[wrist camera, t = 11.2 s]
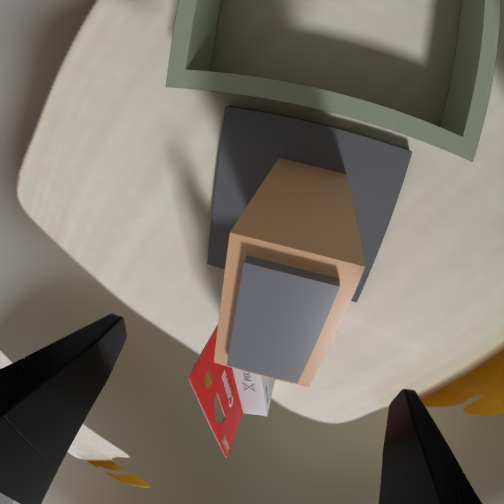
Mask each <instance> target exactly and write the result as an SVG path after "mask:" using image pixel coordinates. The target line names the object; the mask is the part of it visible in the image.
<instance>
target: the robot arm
mask: <svg viewBox="0 0 504 504" xmlns="http://www.w3.org/2000/svg"><path fill="white" fill-rule="evenodd" d="M126 337H127V333H126V327H125V322H124V318H123V317H122V316H119V315H117V314H114V313H112V314H109V315H107V316H105V317H103V318H101V319H99V320H97V321H95V322H93V323H91V324H89V325H87V326H85V327H83V328H81V329H79V330H77V331H75V332H73V333H71V334H69V335H67V336H66V337H63V338H61V339H60V340H58V341H56V342H54V343H52V344H50V345H48V346H46V347H44V348H42V349H40V350H38V351H36V352H34V353H32V354H30V355H28V356H27V357H25V359H24V358H23V359H20V360H18V361H17V362H15V363H12V364H10V365H8V366H6V367H4V368H2V369H0V504H12V503H13V501H16V502H18V503H20V504H41V503H42V501H43V499H44V497H45V495H46V493H47V491H48V489H49V487H50V485H51V482H52V481H53V479H54V476H55V475H56V473H57V471H58V468H59V466H60V465H61V463H62V461H63V459H64V457H65V455H66V453H67V451H68V449H69V447H70V446H71V444H72V442H73V440H74V438H75V436H76V435H77V433H78V431H79V429H80V427H81V425H82V424H83V422H84V420H85V418H86V416H87V415H88V413H89V411H90V409H91V407H92V406H93V404H94V402H95V401H96V399H97V397H98V395H99V394H100V392H101V390H102V388H103V387H104V385H105V383H106V382H107V380H108V378H109V376H110V374H111V372H112V370H113V367H114V365H115V363H116V360H117V358H118V356H119V354H120V352H121V350H122V347H123V345H124V343H125V341H126ZM379 504H482V502H481V501H480V499H479V498H478V496H477V495H476V493H475V492H474V490H473V488H472V486H471V485H470V483H469V481H468V480H467V478H466V476H465V474H464V473H463V471H462V469H461V467H460V465H459V463H458V462H457V460H456V458H455V456H454V454H453V453H452V451H451V449H450V447H449V446H448V444H447V442H446V441H445V439H444V437H443V435H442V434H441V432H440V430H439V429H438V427H437V425H436V424H435V422H434V421H433V419H432V417H431V416H430V414H429V413H428V411H427V409H426V407H425V406H424V404H423V403H422V401H421V399H420V398H419V396H418V395H417V393H416V392H415V391H414V390H410V389H403V390H401V391H400V393H399V394H398V395H397V396H396V397H395V398H394V400H393V401H392V402H391V404H390V406H389V411H388V419H387V427H386V433H385V440H384V448H383V460H382V474H381V486H380V496H379Z"/></svg>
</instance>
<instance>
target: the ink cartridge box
mask: <svg viewBox="0 0 504 504" xmlns="http://www.w3.org/2000/svg"><path fill="white" fill-rule="evenodd" d="M217 330H218V325H217V326H216V328H215V330H214V332H213V333H212V335H211V337H210V339H209V340H208V342H207V344H206V345H205V347H204V349H203V351H202V352H201V354H200V356H199V358H198V359H197V361H196V363H195V365H194V366H193V368H192V370H191V371H190V373H189V375H188V379H189V381H190V384H191V386H192V388H193V390H194V393H195V395H196V397H197V399H198V402H199V404H200V406H201V408H202V410H203V412H204V415H205V417H206V419H207V421H208V423H209V425H210V428H211V430H212V431H213V434H214V436H215V437H216V439H217V441H218V443H219V446H220V447H221V449H222V451H223V453H224V455H225V457H226V458H227V457H228V455H229V452H230V450H231V447H232V444H233V441H234V438H235V435H236V432H237V429H238V426H239V423H240V420H241V417H242V414H243V413H247V414H255V415H263V416H267V415H268V410H269V405H270V401H271V396H272V391H273V386H274V381H275V379H272V378H268V377H264V376H260V375H256V374H253V373H249V372H245V371H242V370H238V369H234V368H231V367H228V366H224V365H221V364H217V363H214V356H215V347H216V339H217ZM216 394H217V397H218V399H219V402H220V405H221V408H222V410H223V414H224V418H223V421H222V422H221V423H220V422H217V421H216V420H215V405H214V398H215V395H216Z"/></svg>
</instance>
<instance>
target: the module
mask: <svg viewBox="0 0 504 504" xmlns="http://www.w3.org/2000/svg"><path fill="white" fill-rule="evenodd" d="M364 269H365V262H364V256H363V251H362V245H361V240H360V234H359V229H358V224H357V219H356V215H355V210H354V205H353V201H352V196H351V192H350V188H349V183H348V179H347V175H346V174H343V173H339V172H335V171H331V170H328V169H324V168H320V167H316V166H312V165H308V164H304V163H299V162H295V161H291V160H286V159H282V158H279V159H278V160H277V162H276V163H275V165H274V166H273V168H272V169H271V171H270V172H269V174H268V175H267V177H266V178H265V180H264V181H263V183H262V184H261V186H260V187H259V189H258V190H257V192H256V193H255V195H254V196H253V198H252V199H251V201H250V202H249V204H248V206H247V207H246V209H245V210H244V212H243V213H242V215H241V216H240V218H239V219H238V221H237V222H236V224H235V226H234V227H233V229H232V230H231V232H230V236H229V243H228V251H227V258H226V266H225V273H224V281H223V289H222V297H221V305H220V313H219V322H218V330H217V339H216V347H215V356H214V363H217V364H221V365H224V366H228V367H231V368H234V369H238V370H242V371H245V372H249V373H253V374H256V375H260V376H264V377H268V378H272V379H276V380H280V381H285V382H289V383H293V384H298V385H302V386H307V387H309V386H310V384H311V382H312V380H313V379H314V377H315V375H316V373H317V371H318V369H319V367H320V365H321V363H322V361H323V359H324V357H325V355H326V353H327V351H328V349H329V347H330V345H331V343H332V341H333V339H334V337H335V335H336V333H337V331H338V328H339V326H340V324H341V322H342V320H343V318H344V315H345V313H346V311H347V309H348V307H349V304H350V302H351V300H352V297H353V295H354V293H355V291H356V288H357V286H358V283H359V281H360V279H361V276H362V274H363V271H364Z"/></svg>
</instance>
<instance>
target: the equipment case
mask: <svg viewBox="0 0 504 504" xmlns="http://www.w3.org/2000/svg"><path fill="white" fill-rule="evenodd" d="M221 3H222V0H179V3H178V9H177V14H176V20H175V25H174V31H173V37H172V44H171V50H170V57H169V65H168V72H167V80H166V87H172V88H186V89H197V90H207V91H216V92H225V93H232V94H240V95H246V96H253V97H259V98H265V99H271V100H276V101H281V102H286V103H291V104H296V105H301V106H306V107H310V108H314V109H319V110H323V111H327V112H331V113H335V114H339V115H342V116H346V117H350V118H353V119H357V120H360V121H364V122H367V123H371V124H374V125H377V126H380V127H383V128H386V129H389V130H392V131H395V132H398V133H401V134H404V135H407V136H410V137H413V138H415V139H418V140H421V141H423V142H426V143H429V144H431V145H434V146H436V147H439V148H441V149H444V150H446V151H448V152H451V153H453V154H456V155H458V156H460V157H462V158H465V159H467V160H469V161H471V162H473V159H474V156H475V153H476V149H477V146H478V143H479V139H480V135H481V131H482V128H483V124H484V120H485V115H486V111H487V107H488V102H489V97H490V92H491V87H492V81H493V75H494V69H495V62H496V55H497V47H498V37H499V25H500V4H501V0H461V11H460V22H459V30H458V38H457V45H456V52H455V58H454V64H453V70H452V75H451V80H450V85H449V90H448V95H447V99H446V104H445V108H444V112H443V116H442V120H441V124H440V127H439V126H436V125H434V124H431V123H429V122H426V121H424V120H421V119H418V118H416V117H413V116H410V115H407V114H405V113H402V112H399V111H396V110H393V109H390V108H387V107H384V106H381V105H378V104H375V103H371V102H368V101H365V100H361V99H358V98H354V97H351V96H347V95H343V94H339V93H335V92H331V91H327V90H323V89H319V88H314V87H310V86H305V85H300V84H295V83H290V82H285V81H279V80H274V79H268V78H261V77H254V76H247V75H239V74H231V73H222V72H211V71H210V67H211V60H212V54H213V48H214V42H215V36H216V30H217V25H218V19H219V14H220V8H221Z"/></svg>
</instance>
